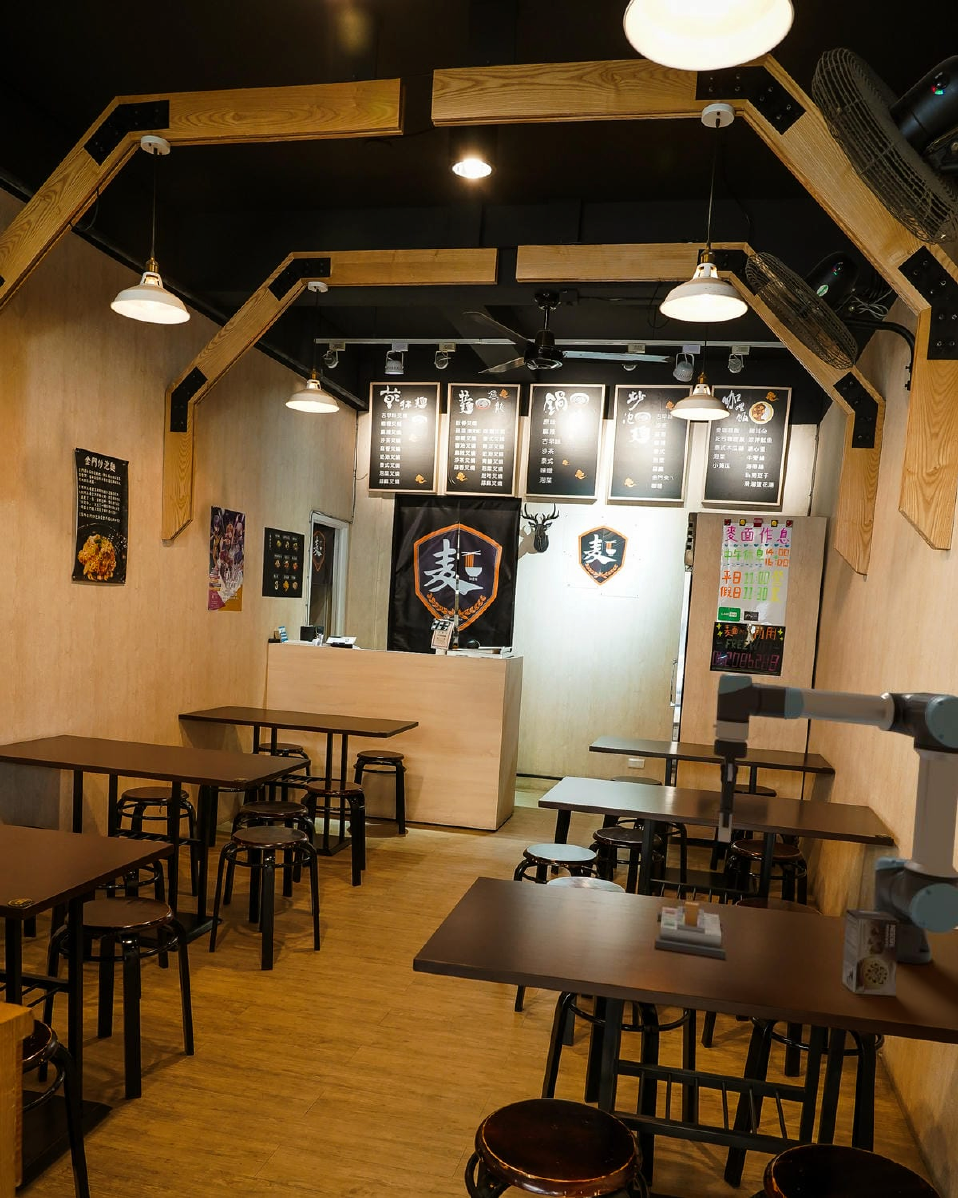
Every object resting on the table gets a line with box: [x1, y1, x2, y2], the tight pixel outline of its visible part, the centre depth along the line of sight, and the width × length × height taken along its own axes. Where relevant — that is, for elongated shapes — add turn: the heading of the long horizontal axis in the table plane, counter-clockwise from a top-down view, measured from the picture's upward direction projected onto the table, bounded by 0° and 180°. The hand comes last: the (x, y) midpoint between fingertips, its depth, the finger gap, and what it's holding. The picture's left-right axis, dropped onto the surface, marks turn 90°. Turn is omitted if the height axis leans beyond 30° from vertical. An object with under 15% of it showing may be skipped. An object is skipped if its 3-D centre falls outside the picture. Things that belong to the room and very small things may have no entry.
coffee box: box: [841, 908, 899, 996], centre depth 194 cm, size 9×6×16 cm
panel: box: [659, 905, 722, 949], centre depth 219 cm, size 14×18×5 cm
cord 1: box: [657, 912, 723, 930], centre depth 230 cm, size 16×2×2 cm, turn 77°
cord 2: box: [654, 938, 727, 960], centre depth 208 cm, size 16×2×2 cm, turn 77°
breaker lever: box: [684, 901, 700, 926], centre depth 216 cm, size 3×2×5 cm, turn 77°
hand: (724, 841), depth 209 cm, fingers closed
